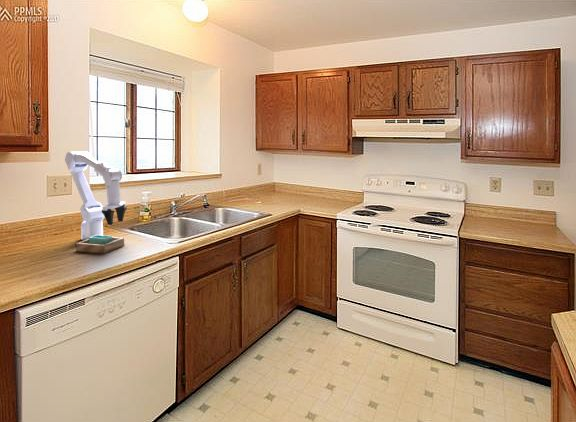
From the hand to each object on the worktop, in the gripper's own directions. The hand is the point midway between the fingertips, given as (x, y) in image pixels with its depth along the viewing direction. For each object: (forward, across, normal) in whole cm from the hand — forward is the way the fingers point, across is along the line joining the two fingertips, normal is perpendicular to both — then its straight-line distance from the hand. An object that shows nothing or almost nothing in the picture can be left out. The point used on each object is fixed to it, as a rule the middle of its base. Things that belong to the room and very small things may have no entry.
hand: (115, 223), depth 184 cm
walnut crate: (+9, -11, 0) cm, 14 cm away
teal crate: (+9, -11, 0) cm, 14 cm away
